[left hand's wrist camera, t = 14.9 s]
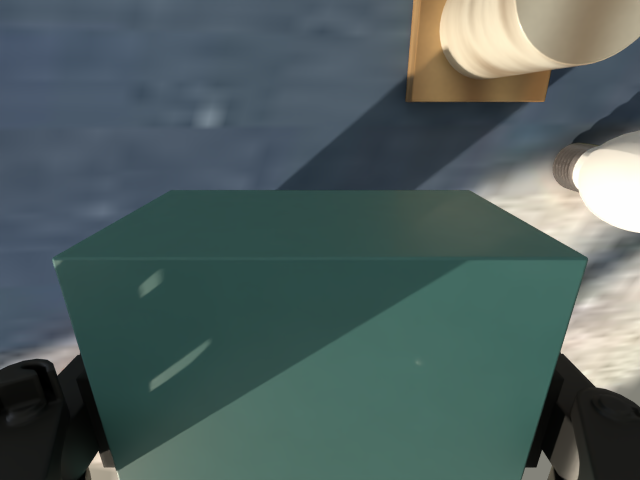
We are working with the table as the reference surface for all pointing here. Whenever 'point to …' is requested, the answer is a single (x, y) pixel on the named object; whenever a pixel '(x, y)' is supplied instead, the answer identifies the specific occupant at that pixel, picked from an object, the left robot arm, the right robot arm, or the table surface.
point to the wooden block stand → (509, 45)
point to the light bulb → (605, 178)
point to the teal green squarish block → (320, 334)
